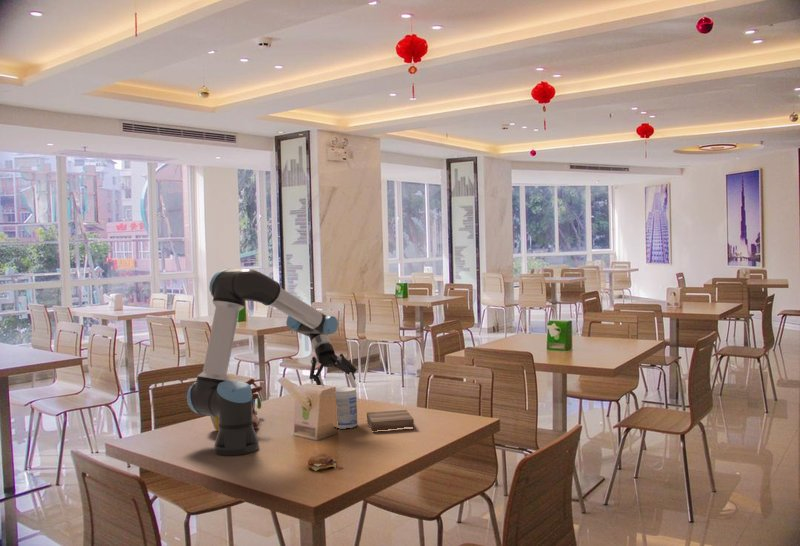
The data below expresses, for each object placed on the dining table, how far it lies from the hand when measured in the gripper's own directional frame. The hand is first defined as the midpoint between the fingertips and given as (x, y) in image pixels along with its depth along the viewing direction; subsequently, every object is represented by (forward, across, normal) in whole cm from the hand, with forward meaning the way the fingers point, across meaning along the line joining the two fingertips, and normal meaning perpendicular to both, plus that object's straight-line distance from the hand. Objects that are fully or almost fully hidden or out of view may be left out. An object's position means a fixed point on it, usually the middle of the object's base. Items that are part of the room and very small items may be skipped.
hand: (339, 389), depth 276 cm
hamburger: (+45, +28, +26) cm, 59 cm away
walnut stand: (+21, -13, +2) cm, 25 cm away
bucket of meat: (-6, +47, -16) cm, 50 cm away
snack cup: (-11, +30, -30) cm, 44 cm away
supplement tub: (+14, +1, -5) cm, 15 cm away
